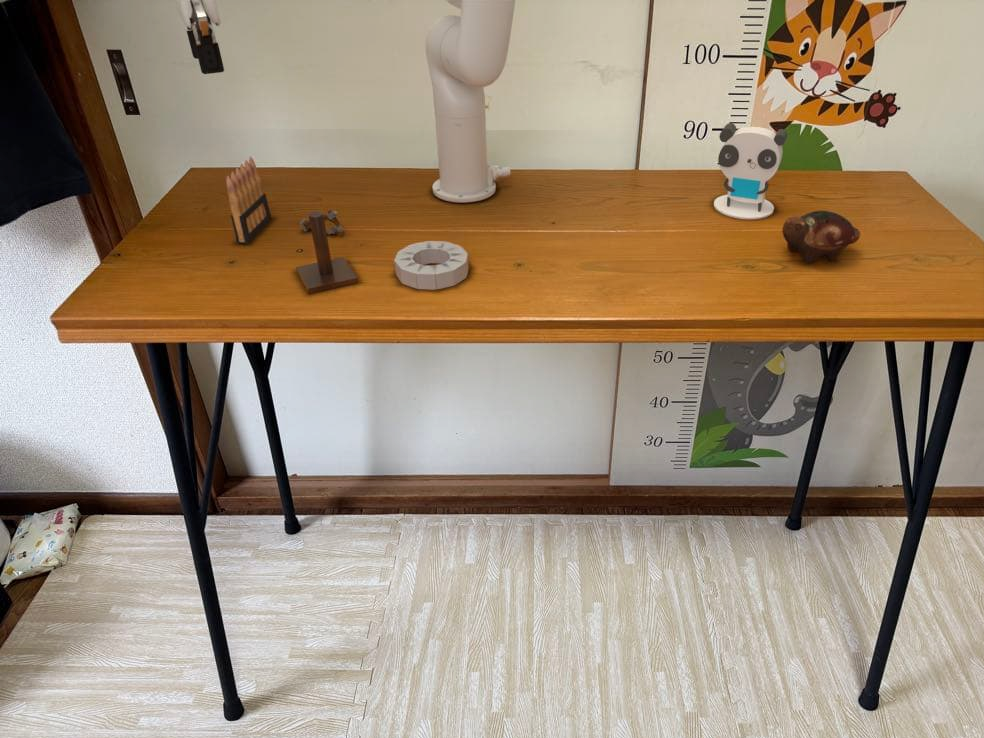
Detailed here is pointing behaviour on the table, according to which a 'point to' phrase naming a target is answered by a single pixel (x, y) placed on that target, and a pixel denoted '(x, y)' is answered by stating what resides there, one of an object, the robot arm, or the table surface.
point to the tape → (431, 277)
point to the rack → (324, 262)
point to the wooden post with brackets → (331, 214)
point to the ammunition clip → (247, 202)
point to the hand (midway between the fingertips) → (208, 64)
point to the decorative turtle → (819, 235)
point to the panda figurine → (748, 170)
